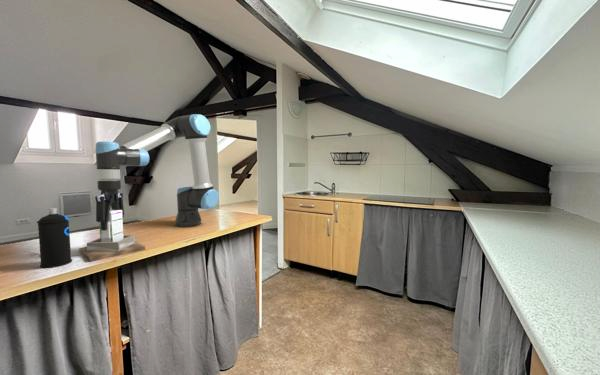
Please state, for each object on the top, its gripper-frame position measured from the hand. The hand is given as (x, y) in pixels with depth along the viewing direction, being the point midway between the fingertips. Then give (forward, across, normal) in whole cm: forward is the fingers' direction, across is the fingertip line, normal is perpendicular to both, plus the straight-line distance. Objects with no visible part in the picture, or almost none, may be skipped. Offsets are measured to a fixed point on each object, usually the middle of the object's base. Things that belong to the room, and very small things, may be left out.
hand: (112, 235), depth 102 cm
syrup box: (+4, 0, 0) cm, 4 cm away
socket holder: (+6, 0, 0) cm, 6 cm away
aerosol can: (+7, +14, -11) cm, 18 cm away
